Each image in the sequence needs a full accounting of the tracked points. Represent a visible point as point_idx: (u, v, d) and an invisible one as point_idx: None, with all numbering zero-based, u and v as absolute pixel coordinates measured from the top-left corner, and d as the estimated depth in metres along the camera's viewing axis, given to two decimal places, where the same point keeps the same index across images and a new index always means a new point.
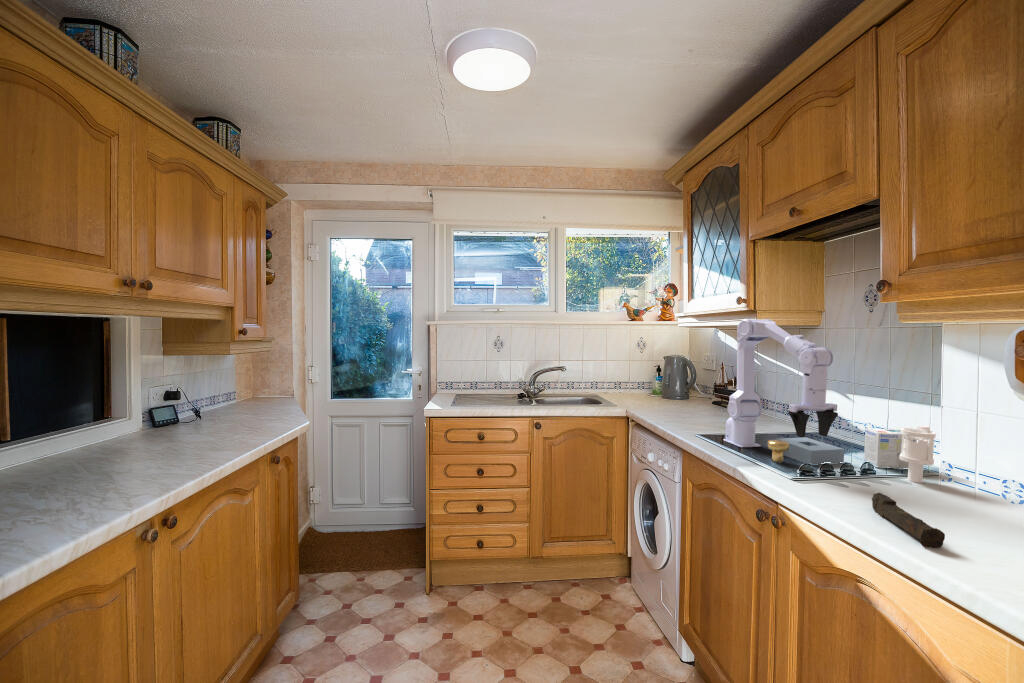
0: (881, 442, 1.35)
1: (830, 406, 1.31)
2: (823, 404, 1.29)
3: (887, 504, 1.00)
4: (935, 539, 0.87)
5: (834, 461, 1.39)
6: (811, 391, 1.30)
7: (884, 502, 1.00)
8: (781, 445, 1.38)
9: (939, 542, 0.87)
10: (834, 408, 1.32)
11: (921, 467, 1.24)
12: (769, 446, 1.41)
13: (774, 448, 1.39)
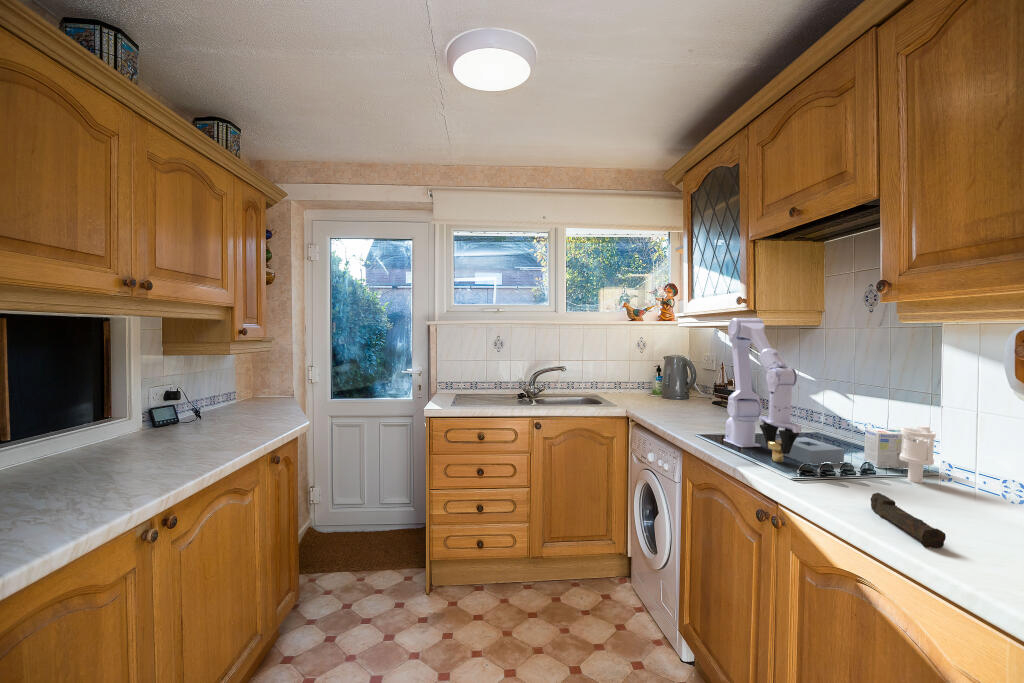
0: (881, 442, 1.35)
1: (784, 425, 1.36)
2: (773, 419, 1.39)
3: (886, 504, 1.00)
4: (936, 540, 0.87)
5: (834, 461, 1.39)
6: None
7: (883, 502, 1.00)
8: (781, 445, 1.38)
9: (939, 542, 0.87)
10: (793, 429, 1.34)
11: (921, 467, 1.24)
12: (769, 446, 1.41)
13: (774, 448, 1.39)
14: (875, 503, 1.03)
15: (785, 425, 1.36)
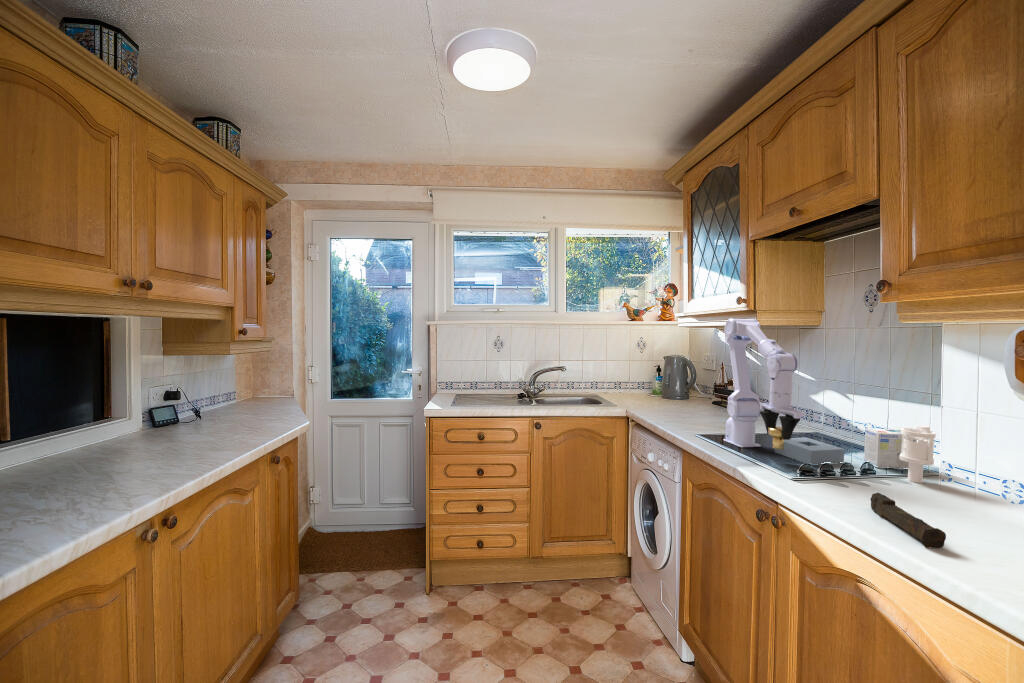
0: (881, 442, 1.35)
1: (785, 411, 1.36)
2: (773, 406, 1.39)
3: (886, 504, 1.00)
4: (936, 539, 0.87)
5: (834, 461, 1.39)
6: None
7: (883, 502, 1.00)
8: None
9: (940, 542, 0.87)
10: (793, 415, 1.34)
11: (921, 467, 1.24)
12: (770, 432, 1.40)
13: (775, 434, 1.39)
14: (875, 503, 1.03)
15: (786, 411, 1.36)
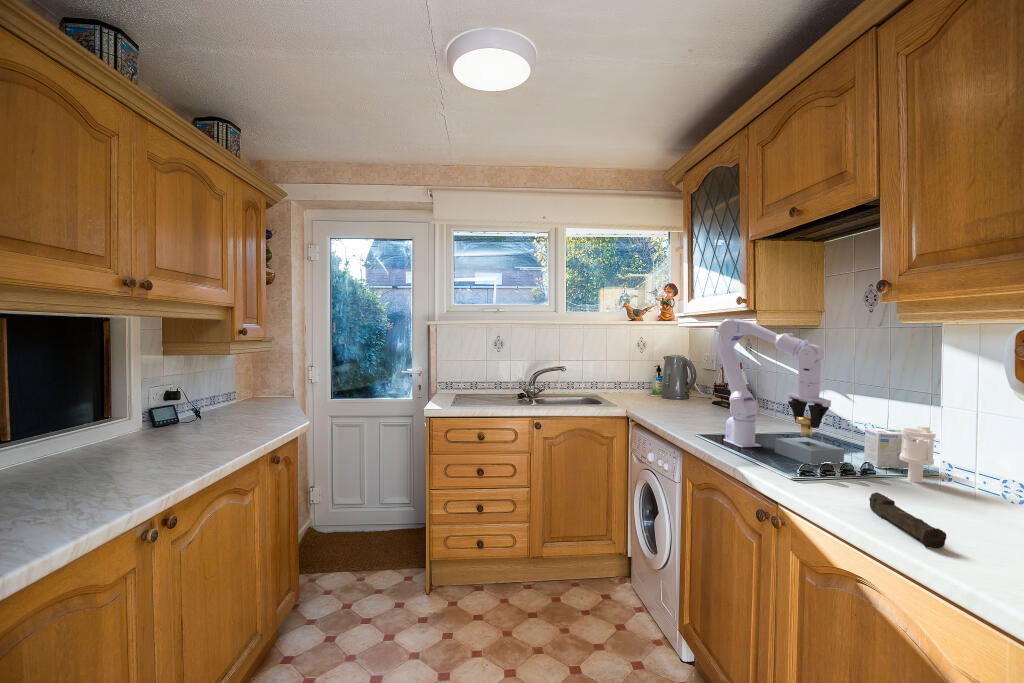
0: (881, 442, 1.35)
1: (814, 399, 1.40)
2: (802, 395, 1.43)
3: (886, 504, 1.00)
4: (937, 540, 0.87)
5: (834, 461, 1.39)
6: None
7: (883, 502, 1.00)
8: (810, 420, 1.42)
9: (941, 542, 0.87)
10: (822, 403, 1.38)
11: (921, 467, 1.24)
12: (798, 421, 1.44)
13: (803, 423, 1.43)
14: (874, 503, 1.03)
15: (815, 400, 1.40)
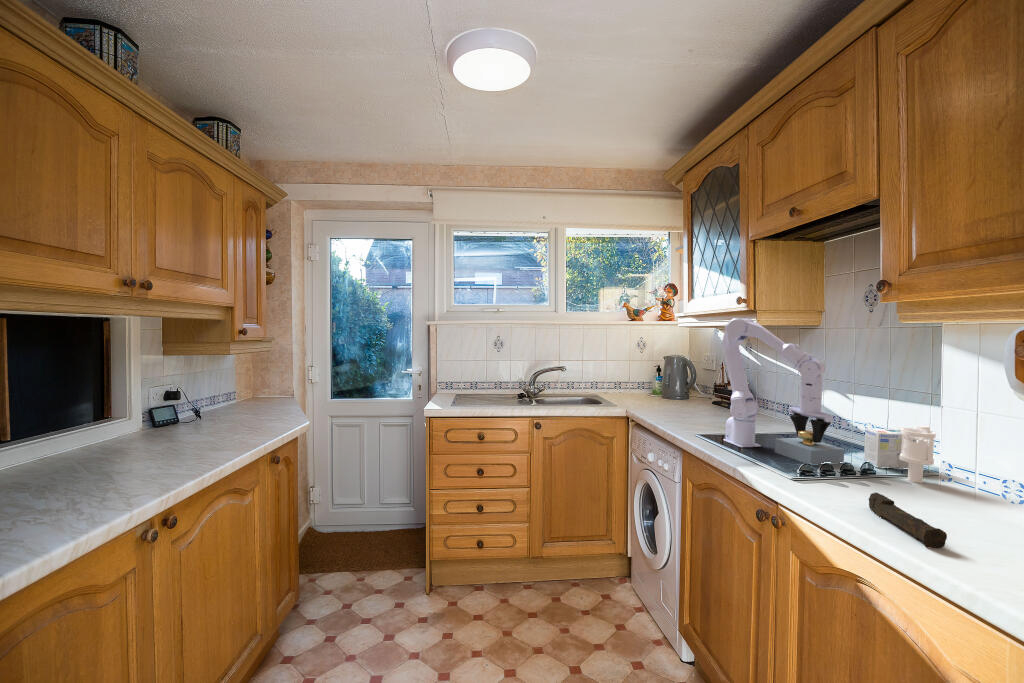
0: (881, 442, 1.35)
1: (816, 414, 1.41)
2: (804, 410, 1.44)
3: (885, 504, 1.00)
4: (937, 540, 0.87)
5: (834, 461, 1.39)
6: None
7: (882, 502, 1.00)
8: (812, 434, 1.42)
9: (941, 542, 0.87)
10: (825, 418, 1.39)
11: (921, 467, 1.24)
12: (800, 436, 1.45)
13: (805, 437, 1.43)
14: (874, 503, 1.03)
15: (817, 415, 1.40)
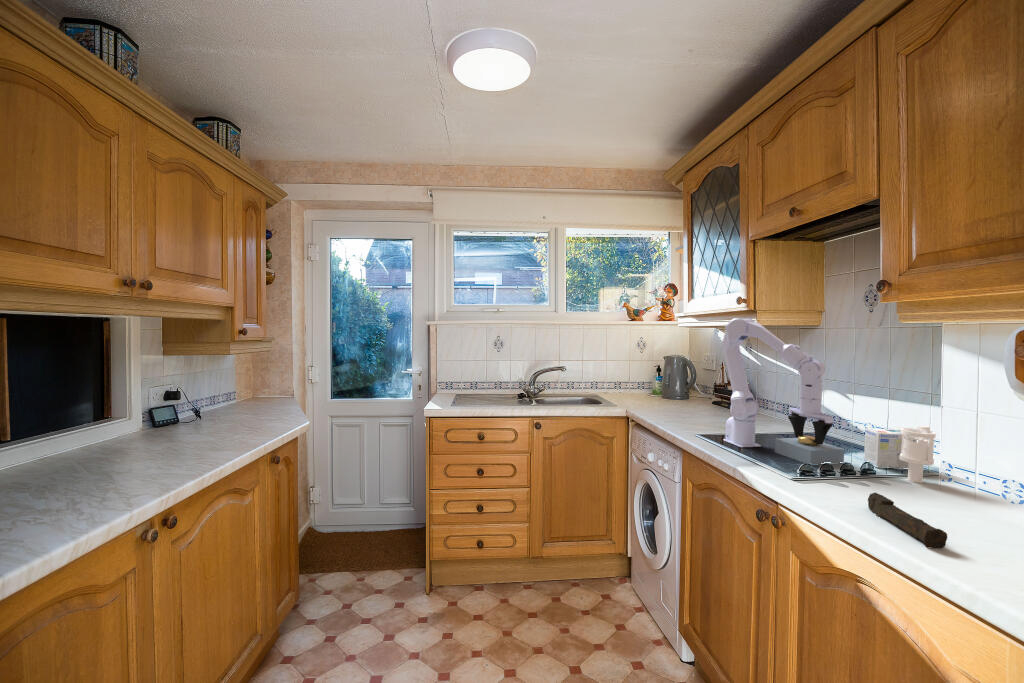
0: (881, 442, 1.35)
1: (816, 415, 1.41)
2: (804, 411, 1.44)
3: (885, 504, 1.00)
4: (938, 540, 0.87)
5: (834, 461, 1.39)
6: None
7: (882, 502, 1.00)
8: (812, 440, 1.43)
9: (942, 542, 0.87)
10: (824, 420, 1.39)
11: (921, 467, 1.24)
12: (800, 441, 1.45)
13: (805, 443, 1.43)
14: (873, 503, 1.03)
15: (817, 416, 1.40)
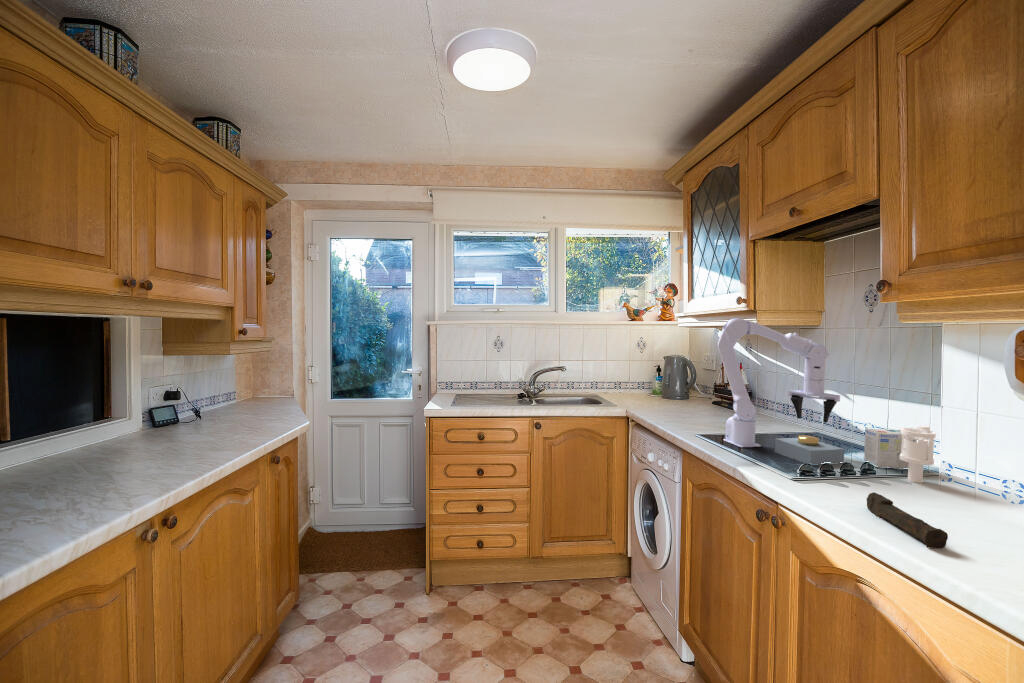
0: (881, 442, 1.35)
1: (825, 395, 1.48)
2: (812, 392, 1.50)
3: (884, 504, 1.00)
4: (939, 540, 0.87)
5: (834, 461, 1.39)
6: (804, 380, 1.53)
7: (881, 502, 1.00)
8: (812, 440, 1.43)
9: (942, 542, 0.87)
10: (834, 398, 1.47)
11: (921, 467, 1.24)
12: (800, 441, 1.45)
13: (805, 443, 1.43)
14: (872, 503, 1.03)
15: (826, 396, 1.48)
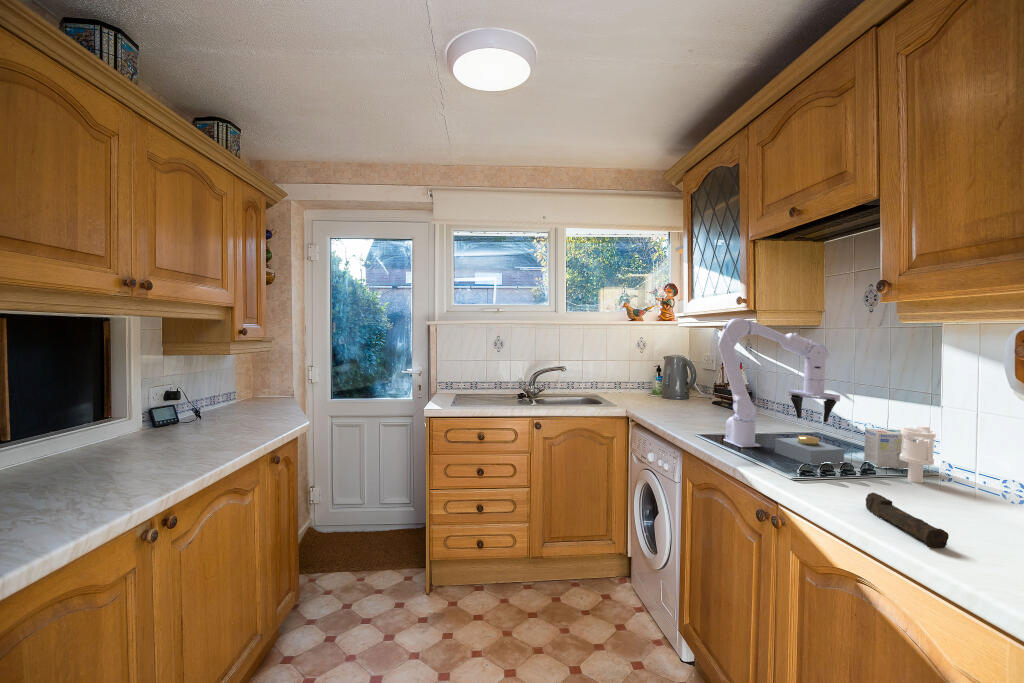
0: (881, 442, 1.35)
1: (826, 395, 1.49)
2: (813, 392, 1.51)
3: (884, 504, 1.00)
4: (939, 540, 0.87)
5: (834, 461, 1.39)
6: (804, 380, 1.54)
7: (881, 502, 1.00)
8: (812, 440, 1.43)
9: (943, 542, 0.87)
10: (835, 398, 1.48)
11: (921, 467, 1.24)
12: (800, 441, 1.45)
13: (805, 443, 1.43)
14: (871, 503, 1.03)
15: (827, 395, 1.49)
